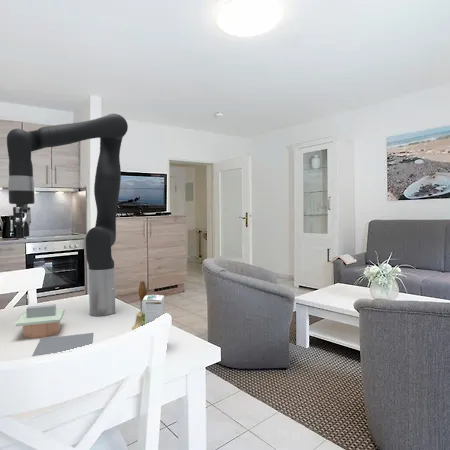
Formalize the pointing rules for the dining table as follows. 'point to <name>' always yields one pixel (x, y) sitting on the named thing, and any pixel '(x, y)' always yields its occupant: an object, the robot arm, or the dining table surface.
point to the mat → (62, 343)
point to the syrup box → (152, 308)
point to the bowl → (41, 330)
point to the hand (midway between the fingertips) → (23, 237)
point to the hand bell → (141, 294)
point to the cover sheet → (39, 319)
